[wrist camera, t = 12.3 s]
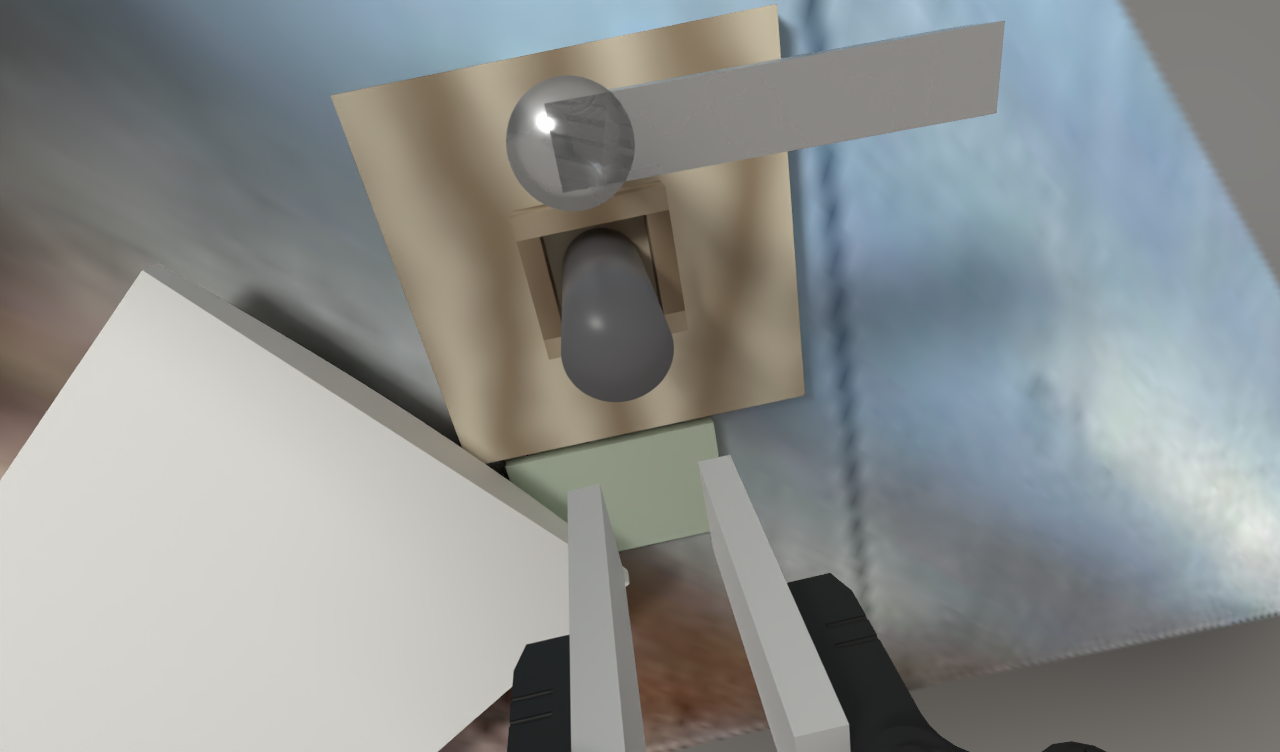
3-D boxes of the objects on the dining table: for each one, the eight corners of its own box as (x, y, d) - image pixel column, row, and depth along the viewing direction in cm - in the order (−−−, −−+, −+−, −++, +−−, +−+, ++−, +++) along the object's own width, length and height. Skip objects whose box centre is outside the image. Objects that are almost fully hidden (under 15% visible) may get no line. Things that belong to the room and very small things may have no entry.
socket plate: (472, 454, 41) (429, 626, 28) (340, 94, 31) (182, 107, 18) (797, 384, 41) (901, 524, 28) (768, 6, 31) (906, -42, 19)
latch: (950, 128, 21) (994, 134, 19) (528, 206, 20) (523, 221, 18) (957, 5, 19) (1007, -4, 17) (499, 86, 19) (491, 88, 17)
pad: (540, 560, 45) (539, 568, 45) (506, 460, 41) (505, 467, 41) (726, 520, 46) (729, 527, 45) (711, 416, 42) (713, 422, 41)
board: (289, 839, 57) (267, 900, 53) (-121, 700, 45) (-192, 765, 41) (623, 537, 46) (629, 583, 41) (195, 246, 34) (142, 270, 30)
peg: (572, 311, 36) (575, 412, 25) (554, 236, 34) (548, 311, 23) (647, 295, 36) (681, 389, 25) (633, 220, 34) (664, 287, 23)
